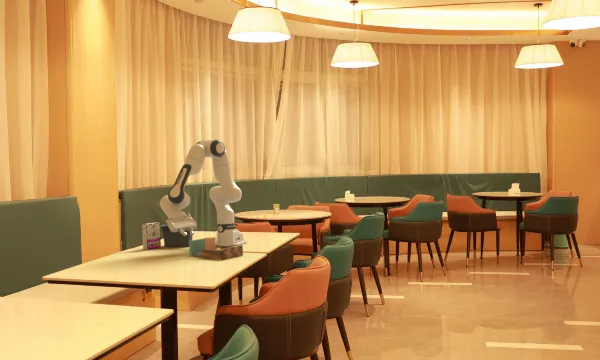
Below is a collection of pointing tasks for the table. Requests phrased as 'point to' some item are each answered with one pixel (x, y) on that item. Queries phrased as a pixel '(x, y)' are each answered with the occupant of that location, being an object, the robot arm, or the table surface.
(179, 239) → the storage bin
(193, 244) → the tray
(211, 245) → the terracotta block
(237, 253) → the dock
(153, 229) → the candy bar box
